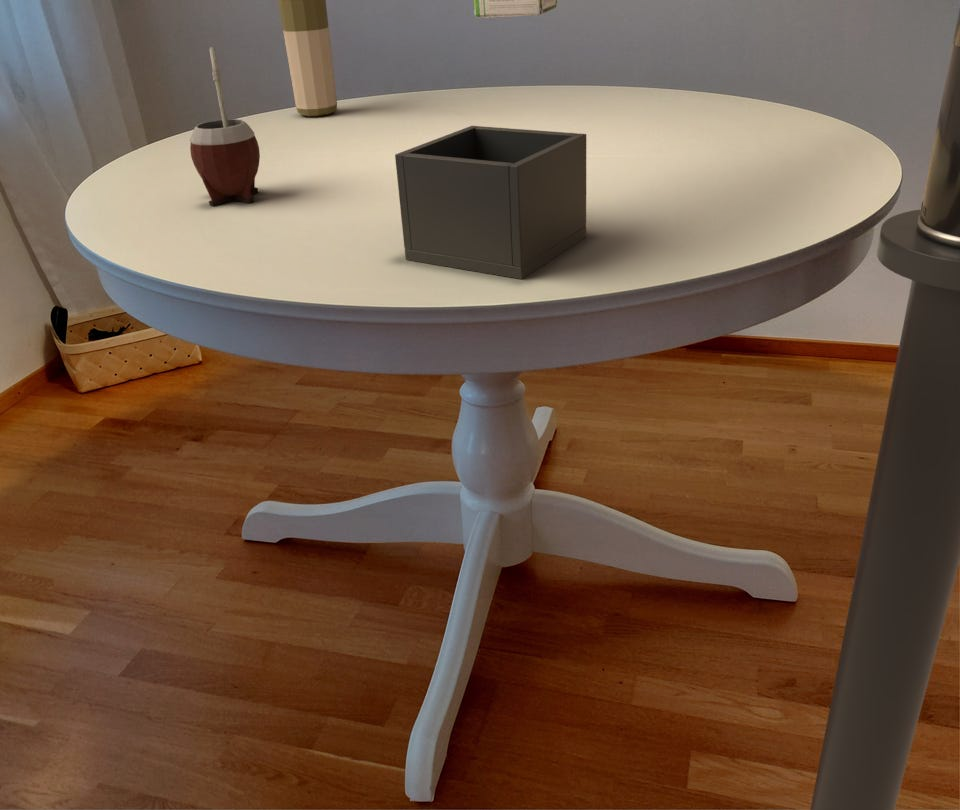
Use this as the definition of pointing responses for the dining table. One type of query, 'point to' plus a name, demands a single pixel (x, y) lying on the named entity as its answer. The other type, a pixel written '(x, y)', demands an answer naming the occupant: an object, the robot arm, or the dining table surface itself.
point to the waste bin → (493, 199)
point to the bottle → (309, 55)
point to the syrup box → (512, 7)
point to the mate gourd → (225, 153)
